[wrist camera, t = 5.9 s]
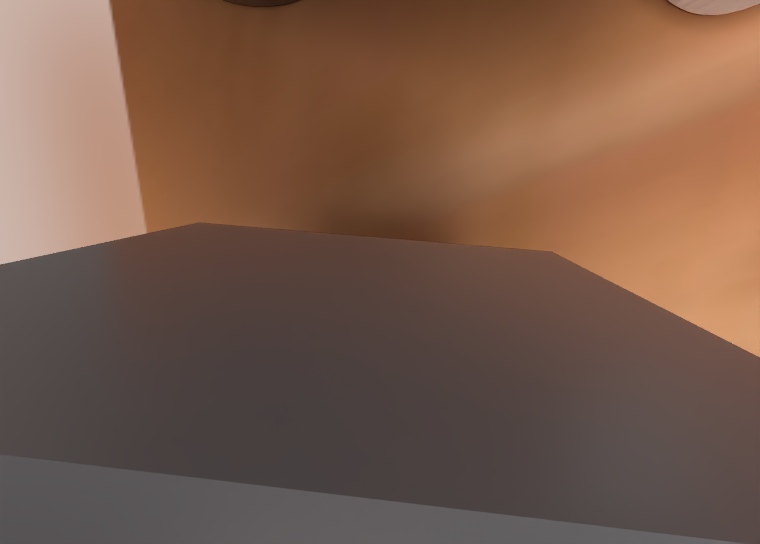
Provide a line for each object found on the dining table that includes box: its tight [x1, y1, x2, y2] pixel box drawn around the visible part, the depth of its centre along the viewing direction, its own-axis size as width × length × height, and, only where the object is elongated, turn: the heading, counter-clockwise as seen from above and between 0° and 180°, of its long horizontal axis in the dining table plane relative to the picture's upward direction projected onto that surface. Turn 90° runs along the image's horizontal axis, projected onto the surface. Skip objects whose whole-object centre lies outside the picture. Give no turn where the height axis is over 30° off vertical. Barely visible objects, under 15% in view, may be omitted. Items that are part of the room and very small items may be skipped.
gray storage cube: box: [0, 223, 760, 544], centre depth 8 cm, size 10×10×9 cm
